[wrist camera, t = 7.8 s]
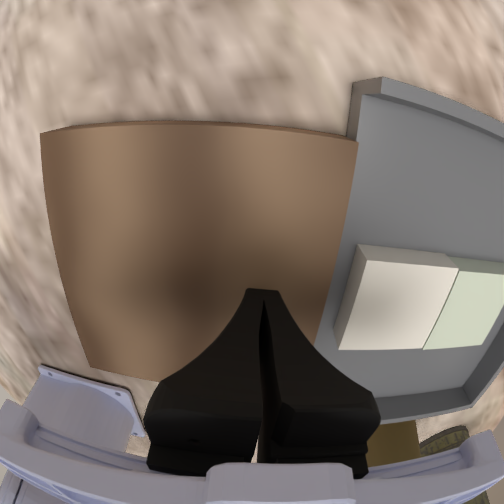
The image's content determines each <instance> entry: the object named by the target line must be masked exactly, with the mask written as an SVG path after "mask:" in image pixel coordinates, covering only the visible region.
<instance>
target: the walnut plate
mask: <svg viewBox="0 0 504 504" xmlns="http://www.w3.org/2000/svg"><path fill="white" fill-rule="evenodd" d="M40 144H41V160H42V172H43V182H44V191H45V198H46V205H47V212H48V218H49V224H50V230H51V235H52V240H53V245H54V250H55V255H56V259H57V263H58V268H59V272H60V276H61V280H62V283H63V287H64V291H65V294H66V298H67V301H68V305H69V308H70V311H71V314H72V318H73V321H74V324H75V327H76V330H77V333H78V335H79V338H80V341H81V344H82V347H83V349H84V352H85V355H86V357H87V360H88V362H89V365H90V367H92V368H96V369H100V370H104V371H108V372H113V373H117V374H122V375H126V376H131V377H136V378H141V379H146V380H151V381H157V382H160V381H161V380H163V379H165V378H167V377H168V376H170V375H172V374H173V373H175V372H177V371H178V370H180V369H181V368H183V367H184V366H185V365H187V364H188V363H189V362H191V361H192V360H193V359H195V358H196V357H197V356H198V355H200V354H201V353H202V352H203V351H204V350H205V349H206V348H207V347H208V346H209V345H210V344H211V343H212V342H213V341H214V340H215V339H216V338H217V337H218V336H219V334H220V333H221V332H222V331H223V330H224V328H225V327H226V326H227V324H228V323H229V321H230V320H231V319H232V317H233V316H234V314H235V312H236V310H237V309H238V307H239V305H240V303H241V301H242V299H243V297H244V294H245V290H246V289H247V288H255V289H267V290H278V291H279V292H280V294H281V296H282V299H283V301H284V303H285V305H286V307H287V308H288V310H289V312H290V314H291V315H292V317H293V319H294V320H295V322H296V323H297V325H298V326H299V328H300V329H301V331H302V332H303V334H304V335H305V336H306V338H307V339H308V340H309V341H310V343H311V344H312V345H313V346H314V343H315V339H316V336H317V332H318V329H319V325H320V322H321V318H322V315H323V311H324V307H325V303H326V300H327V296H328V292H329V288H330V284H331V280H332V276H333V272H334V268H335V264H336V260H337V255H338V251H339V246H340V242H341V237H342V233H343V228H344V223H345V219H346V214H347V209H348V204H349V198H350V193H351V188H352V182H353V176H354V171H355V165H356V159H357V152H358V146H359V142H357V141H355V140H352V139H350V138H347V137H345V136H343V135H337V134H331V133H325V132H318V131H311V130H304V129H296V128H288V127H279V126H269V125H258V124H246V123H231V122H211V121H133V122H114V123H100V124H88V125H78V126H69V127H65V128H60V129H56V130H52V131H48V132H44V133H40Z"/></svg>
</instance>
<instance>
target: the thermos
mask: <svg viewBox="0 0 504 504" xmlns="http://www.w3.org/2000/svg"><path fill="white" fill-rule="evenodd" d="M469 437H470V436H469V434H468V430H467V428H466V427H465V426H458V427H453V428H450V429H448V430H445V431H442V432H440V433H438V434H436V435H434V436H432V437H430V438H429V439H427V440H425V441H423V442H422V443H420V444H419V447H420V454H421V457H425V456H429V455H433V454H437V453H441V452H444V451H448V450H451V449H454V448H458V447H460V445H461V444H462V443H463V442H464V441H465V440H466V439H468V438H469ZM462 504H490V503H489V499H488V496H487V493H486V490H485V491H484V492H482V493H481V494H479V495H478V496H476V497H474V498H473V499H471V500H469V501H467V502H464V503H462Z"/></svg>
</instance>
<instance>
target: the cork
mask: <svg viewBox="0 0 504 504" xmlns="http://www.w3.org/2000/svg"><path fill="white" fill-rule="evenodd" d="M367 446H368V453H367V454H365V455H366V460H367V465H368V467H375V466H381V465H387V464H393V463H398V462H403V461H408V460H412V459H417V458H421V454H420V447H419V440H418V434H417V428H416V422H415V420H410V421H403V422H396V423H389V424H380V425H379V426H378V428H377V429H376V431H375V432H374V433H373V435H372V436H371V437H370V438H369V440H368V441H367Z"/></svg>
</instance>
